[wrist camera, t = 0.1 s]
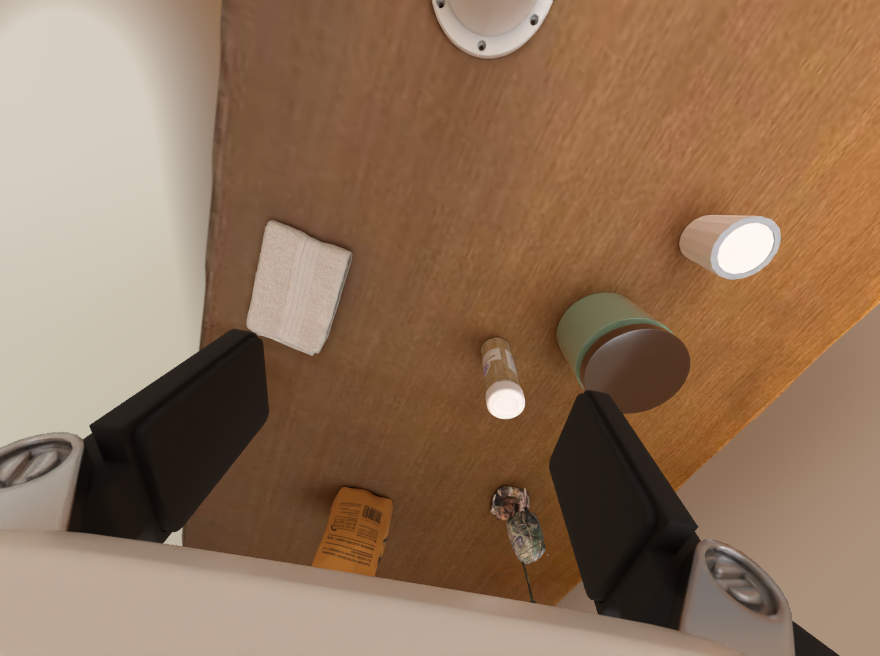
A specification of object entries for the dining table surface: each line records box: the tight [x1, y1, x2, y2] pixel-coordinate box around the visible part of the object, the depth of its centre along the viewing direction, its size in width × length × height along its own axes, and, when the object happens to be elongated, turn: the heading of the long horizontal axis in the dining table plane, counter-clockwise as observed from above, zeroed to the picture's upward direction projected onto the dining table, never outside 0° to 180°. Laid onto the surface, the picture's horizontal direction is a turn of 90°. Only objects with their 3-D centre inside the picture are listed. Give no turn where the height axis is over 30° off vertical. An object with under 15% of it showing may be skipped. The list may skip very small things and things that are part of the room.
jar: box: [557, 292, 690, 414], centre depth 43 cm, size 12×12×12 cm
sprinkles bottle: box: [481, 338, 525, 419], centre depth 44 cm, size 5×5×13 cm
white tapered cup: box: [679, 215, 781, 280], centre depth 38 cm, size 7×7×7 cm
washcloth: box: [246, 220, 352, 355], centre depth 47 cm, size 12×18×3 cm, turn 157°
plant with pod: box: [490, 486, 548, 604], centre depth 55 cm, size 8×11×20 cm
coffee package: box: [312, 487, 393, 577], centre depth 58 cm, size 10×12×22 cm
